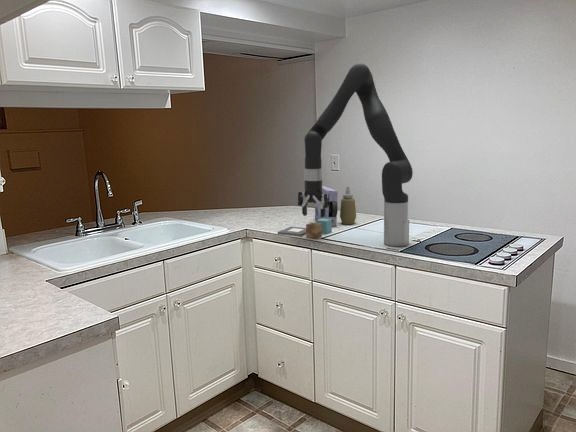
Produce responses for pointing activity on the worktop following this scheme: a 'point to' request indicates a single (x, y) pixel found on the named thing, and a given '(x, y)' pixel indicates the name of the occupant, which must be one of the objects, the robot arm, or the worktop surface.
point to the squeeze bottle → (348, 208)
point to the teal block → (326, 225)
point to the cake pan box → (329, 211)
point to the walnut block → (314, 230)
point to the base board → (293, 231)
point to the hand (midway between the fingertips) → (313, 216)
